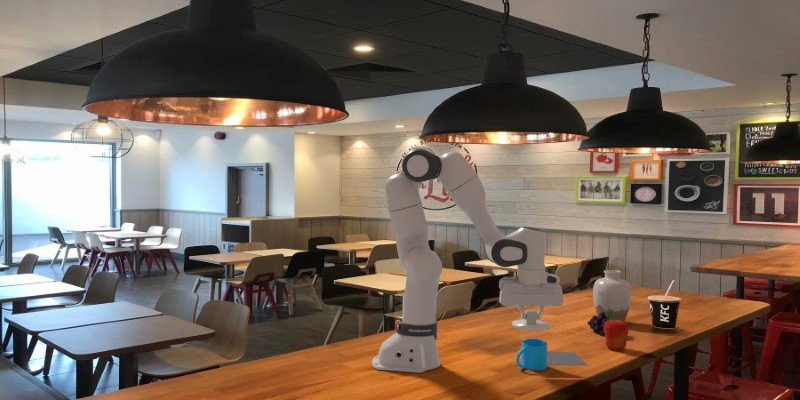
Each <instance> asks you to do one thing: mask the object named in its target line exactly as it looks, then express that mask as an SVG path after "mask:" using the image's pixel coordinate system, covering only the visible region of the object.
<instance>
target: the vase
mask: <svg viewBox="0 0 800 400" xmlns="http://www.w3.org/2000/svg"><path fill="white" fill-rule="evenodd" d="M603 273H604V277H602V278H601V277H600V278H598V279H596V280H595V282H594V284H593V288H592V289H593V290H592V299H593V304H594V305H593V306H594V309H595V313H596V316H597V317H598V316H599V314H600V312H606V311H607V312H608V313H609V311H610V310H612V312H613V314H614V315H616V318H617V320H620V321H623V322H625V321H626V319H627V317H628V313H629V310H630V307H631V302H632V288H631V287H632V286H631V285H630V282H628V281H627V280H626V279H623V278H621V274H622V271H621V270H616V269H605V270H603ZM607 312H606V313H607Z"/></svg>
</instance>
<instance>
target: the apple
mask: <svg viewBox="0 0 800 400" xmlns="http://www.w3.org/2000/svg"><path fill="white" fill-rule="evenodd" d="M629 328H630V327H629V326H628V323H627V322H625V321H624V322H623V321H620V320H609V321H606V322H605V324H604V332H605V335H604V336H605V337H604V338H605V345H606V347H607V349H609V350H611V351H616V352H619V351H622V350H624V349H625V348H626V347H627V341H628V337H629V336H628V335H629Z"/></svg>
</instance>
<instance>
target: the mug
mask: <svg viewBox="0 0 800 400" xmlns="http://www.w3.org/2000/svg"><path fill="white" fill-rule="evenodd" d="M547 352H548V342H547V341H546V340H544V339H540V338H534V337H533V338H532V337H531V338H524V339H522V340H521V349H520V350H519V351H517V354H516V357H515V361H516V365H517V367H519V368H521V369H527V370H531V371H542V370H545V369H547V367H548V365H547ZM520 358H521V359H520Z"/></svg>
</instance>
